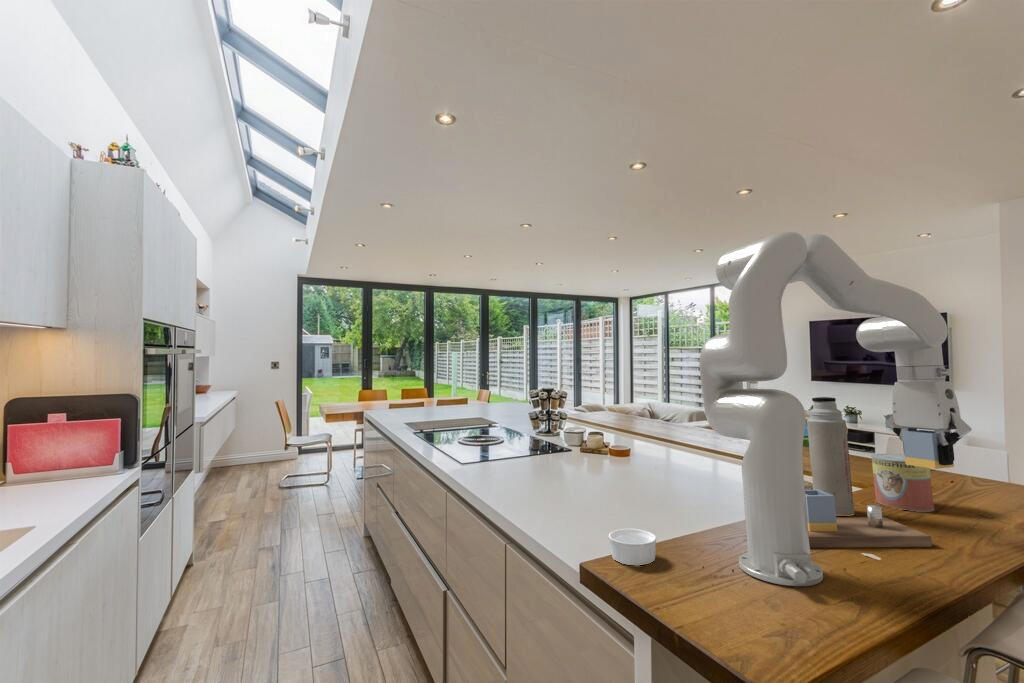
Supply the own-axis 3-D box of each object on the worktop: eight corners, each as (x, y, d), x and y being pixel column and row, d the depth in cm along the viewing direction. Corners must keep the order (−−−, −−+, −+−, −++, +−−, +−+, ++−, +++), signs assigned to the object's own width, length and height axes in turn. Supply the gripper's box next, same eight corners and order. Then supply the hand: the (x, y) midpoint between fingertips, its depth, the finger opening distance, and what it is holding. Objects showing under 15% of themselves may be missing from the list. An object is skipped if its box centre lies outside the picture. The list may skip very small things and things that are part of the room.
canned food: (866, 503, 116) (861, 456, 117) (890, 497, 121) (885, 452, 122) (920, 514, 106) (914, 463, 107) (944, 507, 111) (938, 458, 112)
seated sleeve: (837, 531, 91) (834, 495, 92) (809, 531, 92) (806, 496, 92) (821, 522, 97) (818, 489, 97) (795, 522, 97) (792, 489, 98)
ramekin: (600, 554, 89) (599, 532, 89) (638, 547, 92) (637, 525, 92) (627, 572, 80) (626, 547, 81) (667, 563, 83) (666, 539, 84)
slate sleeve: (953, 467, 92) (950, 432, 92) (935, 468, 90) (931, 433, 91) (923, 462, 97) (920, 429, 98) (905, 464, 95) (902, 431, 96)
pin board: (932, 546, 87) (928, 514, 87) (803, 547, 89) (800, 516, 89) (885, 526, 99) (882, 498, 99) (772, 527, 101) (770, 500, 101)
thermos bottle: (858, 512, 110) (847, 396, 112) (849, 519, 105) (837, 398, 107) (820, 505, 116) (811, 396, 118) (809, 512, 111) (800, 397, 113)
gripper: (983, 374, 88) (994, 468, 87) (889, 375, 105) (896, 455, 103) (957, 374, 86) (967, 471, 84) (865, 376, 103) (872, 457, 101)
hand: (928, 461), depth 94 cm, fingers closed on slate sleeve, 5 cm apart
